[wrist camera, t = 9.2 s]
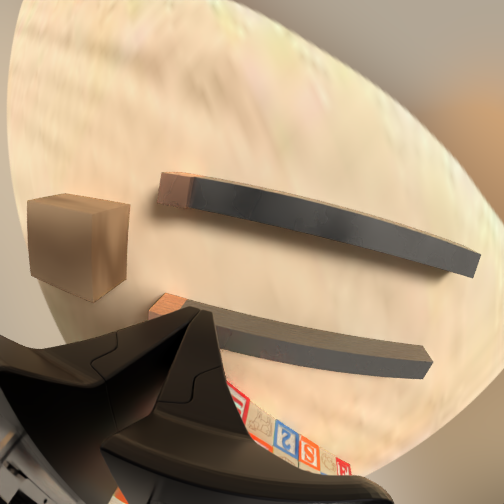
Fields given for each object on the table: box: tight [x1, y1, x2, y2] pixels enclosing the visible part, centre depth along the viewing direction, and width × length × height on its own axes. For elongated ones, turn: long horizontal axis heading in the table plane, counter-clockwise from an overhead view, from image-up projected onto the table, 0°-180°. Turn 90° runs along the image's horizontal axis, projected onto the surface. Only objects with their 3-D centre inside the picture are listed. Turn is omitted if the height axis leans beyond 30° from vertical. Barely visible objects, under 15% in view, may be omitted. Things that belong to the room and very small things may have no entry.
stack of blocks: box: [108, 381, 352, 504], centre depth 14 cm, size 21×6×12 cm, turn 44°
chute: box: [148, 172, 481, 379], centre depth 14 cm, size 9×18×2 cm, turn 79°
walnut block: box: [27, 193, 130, 303], centre depth 15 cm, size 5×6×4 cm
